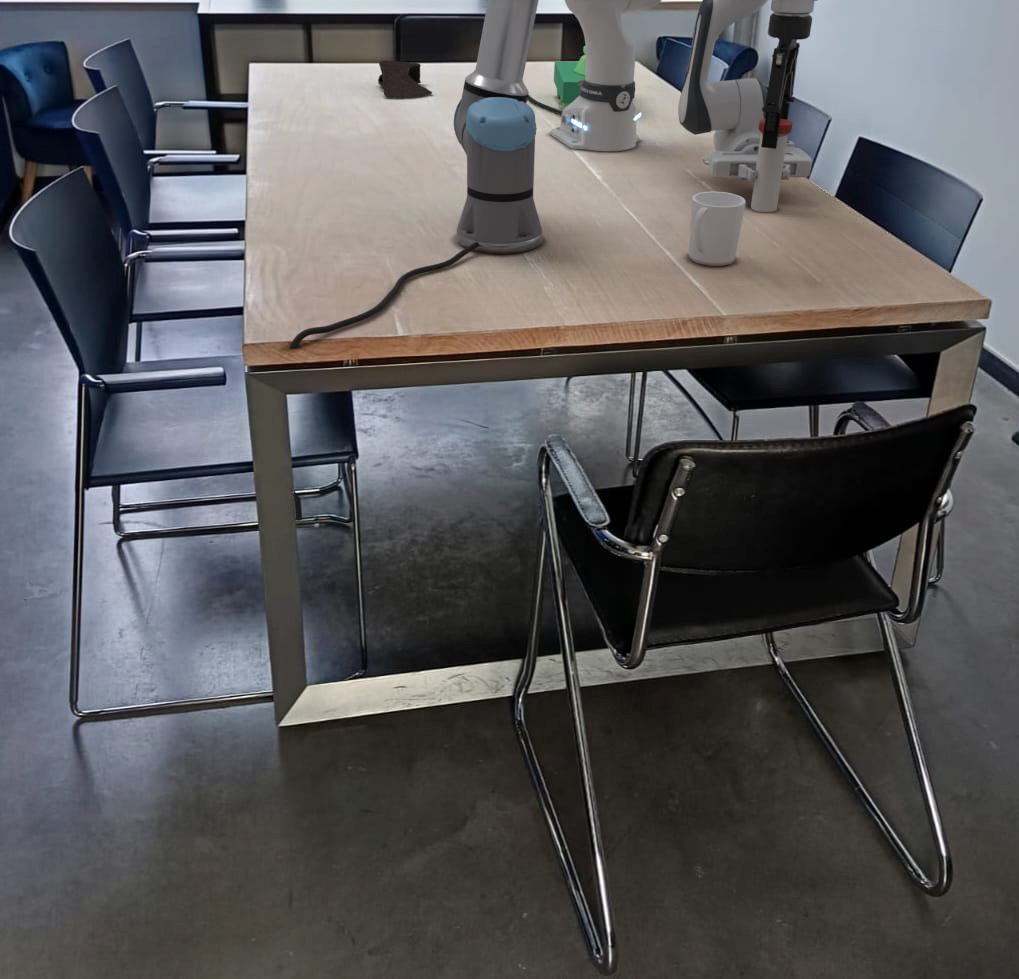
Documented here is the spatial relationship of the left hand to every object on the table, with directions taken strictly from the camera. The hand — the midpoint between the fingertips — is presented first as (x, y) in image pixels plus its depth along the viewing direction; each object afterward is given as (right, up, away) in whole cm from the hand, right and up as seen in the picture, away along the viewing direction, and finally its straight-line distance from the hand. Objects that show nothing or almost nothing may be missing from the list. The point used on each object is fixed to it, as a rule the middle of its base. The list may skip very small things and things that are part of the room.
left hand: (773, 142), depth 209 cm
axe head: (-80, +43, +92) cm, 129 cm away
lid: (0, +3, -2) cm, 3 cm away
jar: (0, -11, +7) cm, 13 cm away
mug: (-16, -27, -20) cm, 37 cm away
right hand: (0, -6, +2) cm, 6 cm away
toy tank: (-29, +37, +84) cm, 96 cm away
